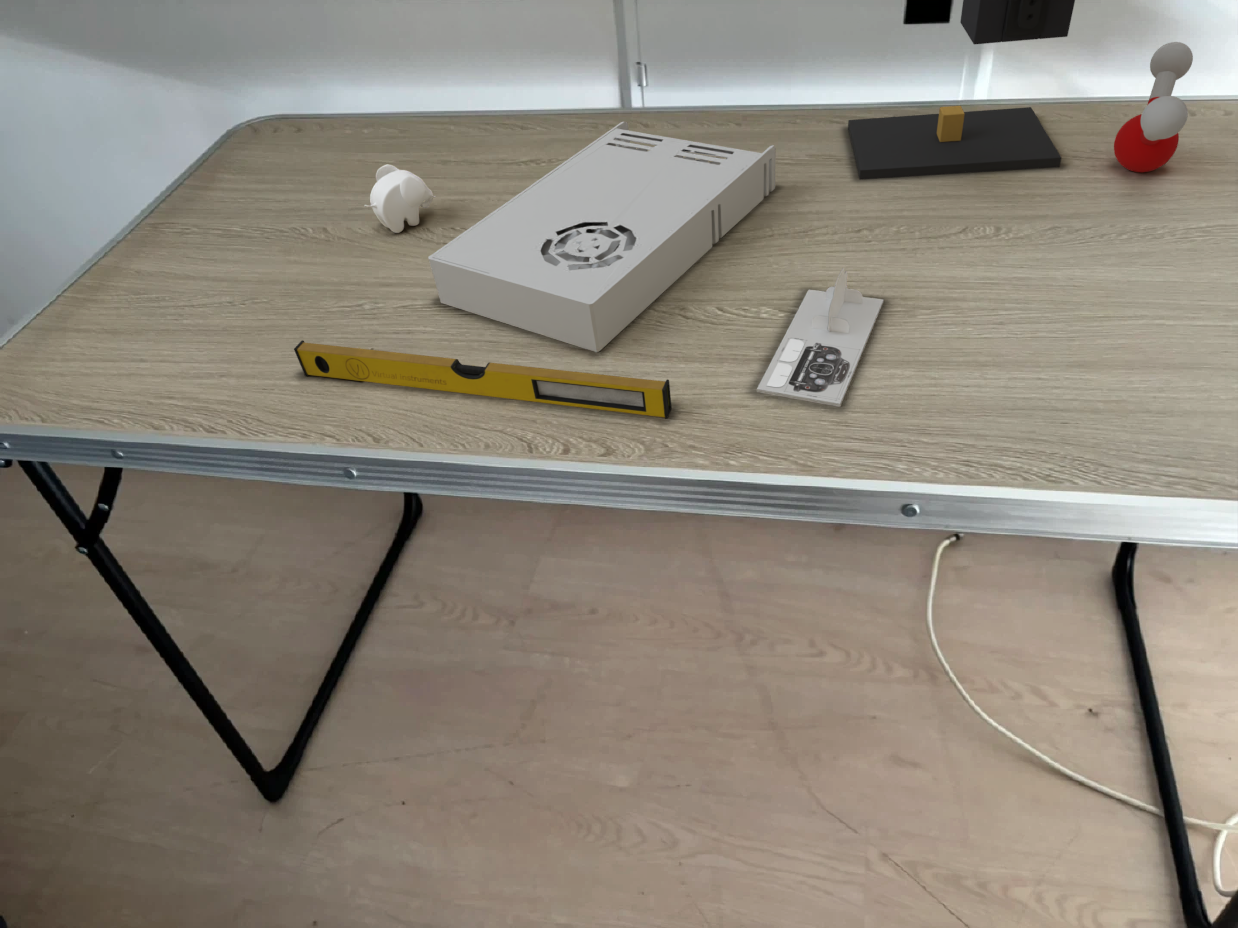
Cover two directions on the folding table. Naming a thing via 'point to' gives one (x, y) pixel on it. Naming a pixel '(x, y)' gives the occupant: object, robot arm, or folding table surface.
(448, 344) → the folding table surface
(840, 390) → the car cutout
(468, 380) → the spirit level
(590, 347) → the power supply unit
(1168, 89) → the molecular model
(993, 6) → the black socket block
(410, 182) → the elephant figurine
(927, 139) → the base pad
